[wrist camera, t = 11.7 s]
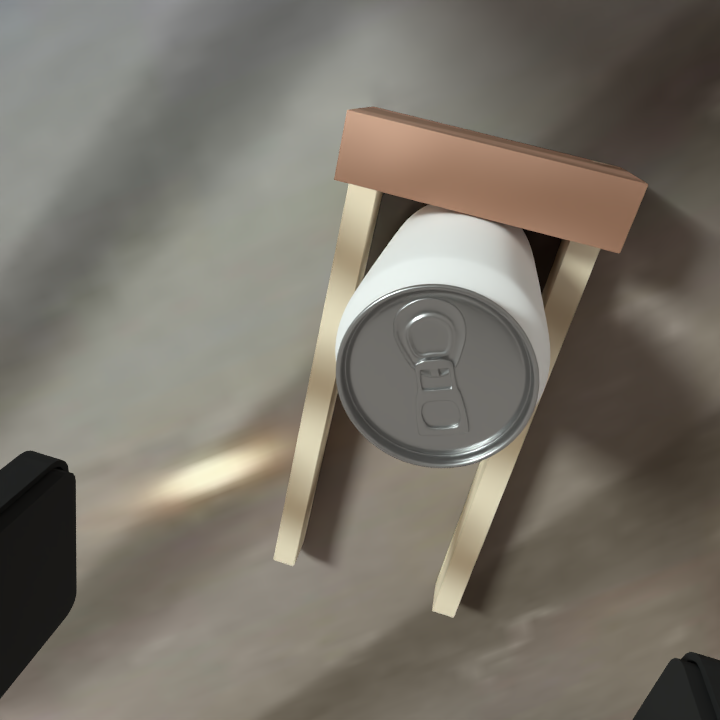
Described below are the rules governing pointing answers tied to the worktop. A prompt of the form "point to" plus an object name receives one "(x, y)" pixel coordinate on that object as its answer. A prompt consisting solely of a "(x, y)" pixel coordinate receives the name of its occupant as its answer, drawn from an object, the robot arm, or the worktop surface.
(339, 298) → the rail channel
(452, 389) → the can
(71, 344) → the worktop surface
